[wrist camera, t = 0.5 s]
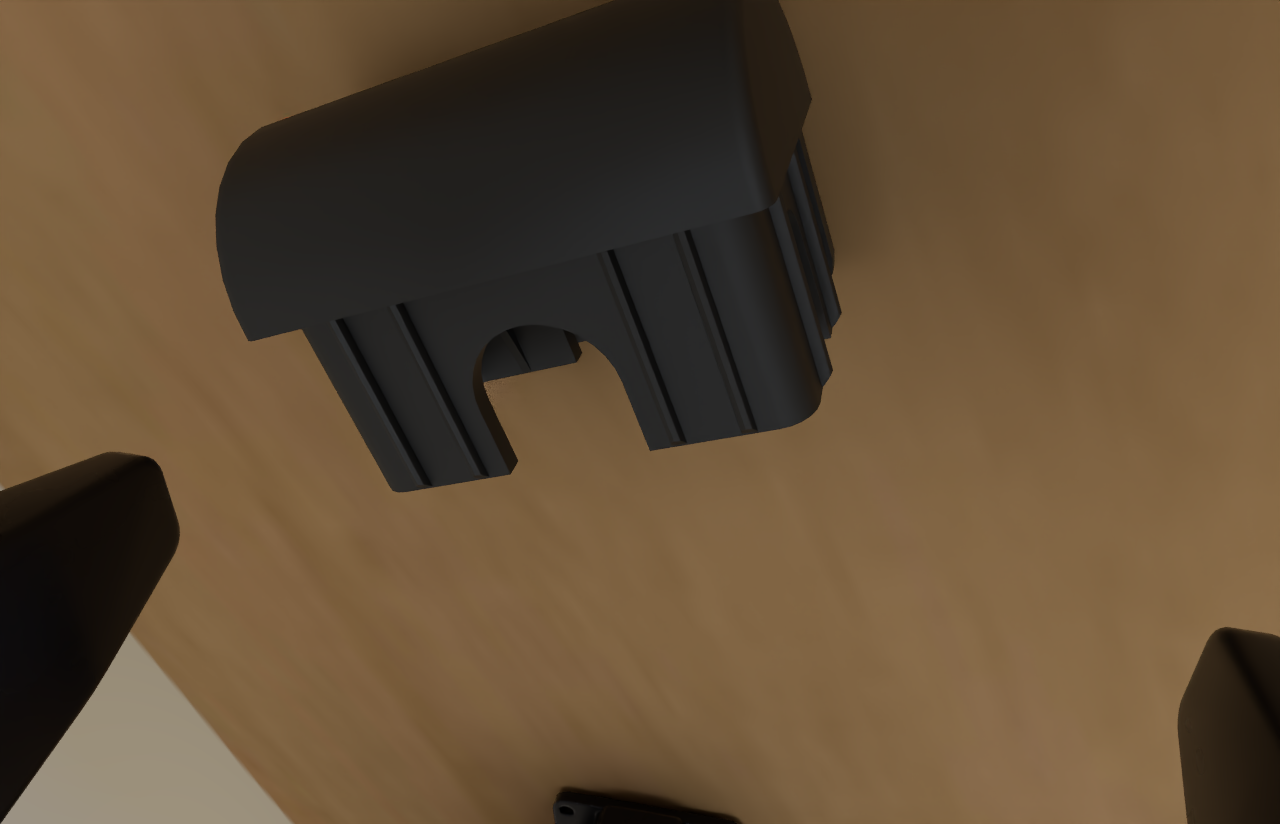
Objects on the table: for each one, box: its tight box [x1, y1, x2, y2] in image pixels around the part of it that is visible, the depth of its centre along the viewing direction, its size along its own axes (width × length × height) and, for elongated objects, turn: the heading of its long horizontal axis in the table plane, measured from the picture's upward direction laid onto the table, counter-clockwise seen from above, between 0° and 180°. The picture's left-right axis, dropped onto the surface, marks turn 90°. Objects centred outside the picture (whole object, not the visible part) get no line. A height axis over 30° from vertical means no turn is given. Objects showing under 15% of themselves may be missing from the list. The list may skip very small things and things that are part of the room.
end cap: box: [216, 0, 842, 492], centre depth 19 cm, size 10×7×7 cm
